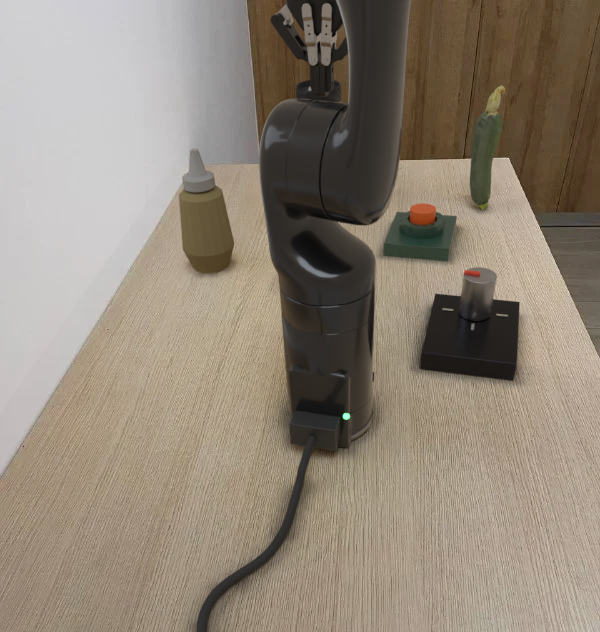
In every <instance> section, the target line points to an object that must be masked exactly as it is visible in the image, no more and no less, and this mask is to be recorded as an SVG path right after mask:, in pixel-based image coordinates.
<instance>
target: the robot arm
mask: <svg viewBox="0 0 600 632" xmlns="http://www.w3.org/2000/svg"><path fill="white" fill-rule="evenodd" d="M411 10H412V0H285V5H284V6H283V7H282V8H281V9H280V10H279V11H278V12H276V13H275V14H273V15H271V16H270V23H271V25H272V26H273V28H274V29H275V30H276V32H277V33H278V34H279V36H280V38H281V39H282V40H283V42H284V43H285V44H286V46H287V47H288V49H289V50H290V51H291V53H292V55H293V56H294V57H295V59H297V60H301V61H304V62H306V63H307V64H308V66H309V80H310V88H311V90H312V91H313V92H315V96H319V97H326V96H327V95H328V94H329V92H330V91H331V90H332V89H333V86H334V80H335V63H336V62H338V61H339V62H340V61H342V60H343V59H345V58H346V56H348V99H347V100H348V101H347V102H342V101H341V102H332V101H322V100H313V99H300V98H296V97H294V98H288V99H285V100H283V101H280V102H279V103H278V104H277V105H275V107H274V108H273V109H271V111H270V112H269V114H268V117H267V118H266V120H265V122H264V126H263V129H262V133H261V137H260V143H259V153H258V156H259V157H258V170H259V185H260V193H261V199H262V201H261V202H262V206H263V213H264V219H265V226H266V234H267V240H268V248H269V255H270V260H271V263H272V265H273V268H274V269H275V271H276V273H277V277H278V286H279V301H280V310H281V311H280V312H281V326H282V340H283V353H284V364H285V378H286V390H287V392H286V393H287V400H288V414H287V415H288V422H289V423H288V425H289V427H288V428H289V437H290V444H291V445H295V446H302V447H304V449H303V451H302V454H301V458H300V461H299V464H298V468H297V471H296V476H295V481H294V485H293V488H292V492H291V495H290V499H289V501H288V506H287V510H286V513H285V515H284V518H283V521H282V523H281V526H280V528H279V529H278V531H277V533H276V535H275V536H274V538H273V539H272V541H271V542H270V543H269V545H268V546H267V547H266V548H265V550H263V551H262V552H261V553H260V554H259V555H258V556H257V557H255V558H254V559H253V560H251V561H249V562H248V563H247V564H245V565H244V566H242V567H240V568H239V569H237V570H235V571H234V572H232V573H231V574H230V575H228V576H227V577H225V578H224V579H223V580H222V581H220V582H219V583H218V584H217V585H216V586H214V588H213V589H212V590H211V591H210V592H209V594H208V595H207V596H206V598H205V600H204V601H203V603H202V605H201V607H200V610H199V612H198V616H197V622H196V632H208V622H209V617H210V614H211V611H212V608H213V607H214V605H215V603H216V602H217V601H218V599H219V598H220V597H221V595H223V593H224V592H226V590H228V589H229V588H230V587H231V586H233V585H234V584H236V583H237V582H239V581H241V580H242V579H243V578H245V577H247V576H248V575H250V574H251V573H252V572H255V570H257V569H258V568H260V567H261V566H263V564H265V563H266V562H267V561H268V560H270V558H272V556H273V555H275V553H276V552H277V551H278V550H279V548H280V547H281V545H282V544H283V542H284V540H285V539H286V537H287V535H288V533H289V531H290V529H291V527H292V524H293V521H294V519H295V515H296V511H297V508H298V504H299V501H300V497H301V493H302V490H303V486H304V484H305V483H304V482H305V479H306V473H307V471H308V465H309V462H310V459H311V457H312V454H313V451H314V448H315V449H319V450H326V451H333V452H336V451H337V449H338V447H339V448H340V447H341V448H344V449H345V448H346V449H347V448H349V447H350V445H351V443H352V441H354V440H356V439H358V438H360V437H361V436H362V435H364V434H365V433H366V432H367V431H368V430H369V429H370V427H371V425H372V422H373V417H374V415H373V412H374V411H373V383H375V372H374V345H375V343H374V342H375V311H376V288H377V287H376V286H377V283H376V282H377V281H376V280H377V260H376V256H375V254H374V251H373V250H372V248H371V247H370V246H369V244H367V243H366V242H365V241H363V240H362V239H360V238H359V237H357V236H356V235H355V234H353V233H351V232H350V231H348V230H347V229H346V228H345V227H343V226H342V225H341V224H347V225H353V226H363V227H367V226H368V227H369V226H372V225H374V224H376V223H377V222H379V221H380V220H381V219H382V218H383V216H384V215H385V213H386V211H387V210H388V208H389V206H390V203H391V201H392V198H393V195H394V191H395V188H396V184H397V179H398V173H399V167H400V161H401V160H400V159H401V149H402V137H403V127H404V125H403V124H404V110H405V109H404V108H405V107H404V106H405V94H406V93H405V92H406V91H405V90H406V78H407V77H406V76H407V62H408V61H407V60H408V47H409V45H408V44H409V31H410V18H411ZM294 20H295V21H296V22H297V24H298V26H299V27H300V29H301V30H302V31H303V32H304V39H303V38H302V37H301V35H300V34H299V32H298V31H297V29H296V28H295V26H294V25H293V24H294ZM342 27H343V29H344V32H345V37H344V39H343V41H342V42H341V43H340V45H339V46H338V47H337V39H338V31H339V30H340V29H341V28H342ZM340 223H341V224H340Z"/></svg>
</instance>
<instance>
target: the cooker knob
mask: <svg viewBox="0 0 600 632" xmlns="http://www.w3.org/2000/svg"><path fill="white" fill-rule="evenodd" d="M497 279H498V275H497V273H496V271H494V270H493V269H490V268H487V267H480V266H479V267H478V266H476V267H475V266H474V267H470V268H468V269H464V271H463V275H462V284H461V290H460V291H461V292H460V296H461V298H460V306H459V314H460V315H461V316H462V317H463V318H465V319H467V320H471V321H482V320H486V319H487V318H489V317H490V315H491V310H492V304H493V299H494V297H495V291H496V286H497V281H498V280H497Z"/></svg>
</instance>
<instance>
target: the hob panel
mask: <svg viewBox="0 0 600 632" xmlns="http://www.w3.org/2000/svg"><path fill="white" fill-rule="evenodd" d="M460 298H461V295H453V294H443V293H434V297H433V301H432V304H431V305H432V306H431V309H430V314H429V318H428V323H427V325H426V326H427V327H426V331H425V334H424V338H423V344H422V347H421V352H420V361H419V362H420V363H419V369H420V370H424V371H425V370H427V371H435V372H442V373H450V374H458V375H464V376H465V375H466V376H473V377H481V378H490V379H497V380H504V381H512V382H513V381H514V380H515V375H516V370H517V367H518V352H519V351H518V350H519V349H518V348H519V347H518V346H519V329H520V328H519V325H520V307H521V306H520V304H521V303H520V301H516V300H515V301H514V300H504V299H494V298H493V304H492V310H491V315H490V317H489V318H487V319H486V320H482V321H471V320H467V319H465V318H463V317H462V316H461V315H460V314H459V306H460Z"/></svg>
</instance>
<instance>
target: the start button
mask: <svg viewBox="0 0 600 632" xmlns="http://www.w3.org/2000/svg"><path fill="white" fill-rule="evenodd" d="M409 211H410V222H411V223H414V224H418V225H428V224H432V223H434V222H435V216H436V212H437V207H436V206H435V205H433V204H430V203H424V202H423V203H422V202H421V203H415V204H413V205H412V206H410V208H409Z"/></svg>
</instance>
